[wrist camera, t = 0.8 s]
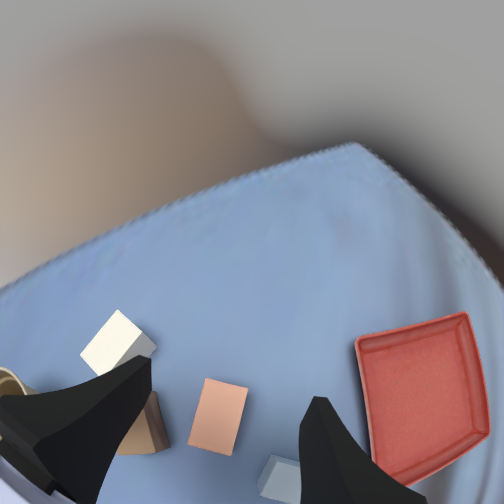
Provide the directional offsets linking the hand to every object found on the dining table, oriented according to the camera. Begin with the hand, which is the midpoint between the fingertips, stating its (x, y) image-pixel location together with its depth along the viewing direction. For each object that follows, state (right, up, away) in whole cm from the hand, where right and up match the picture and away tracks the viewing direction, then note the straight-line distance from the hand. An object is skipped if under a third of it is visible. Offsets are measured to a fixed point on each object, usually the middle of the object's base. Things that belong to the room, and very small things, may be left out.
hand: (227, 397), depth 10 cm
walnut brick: (-9, -10, +11) cm, 18 cm away
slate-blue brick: (+5, -15, +8) cm, 18 cm away
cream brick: (-12, -5, +15) cm, 19 cm away
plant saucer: (+20, -11, +12) cm, 26 cm away
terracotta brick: (-2, -9, +12) cm, 15 cm away
